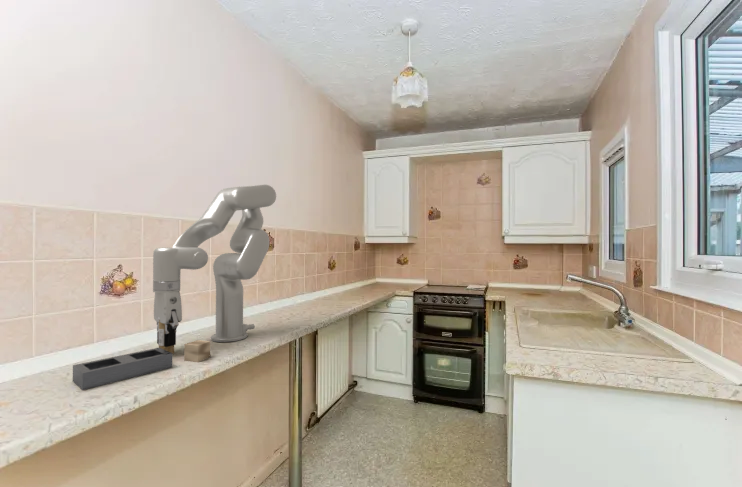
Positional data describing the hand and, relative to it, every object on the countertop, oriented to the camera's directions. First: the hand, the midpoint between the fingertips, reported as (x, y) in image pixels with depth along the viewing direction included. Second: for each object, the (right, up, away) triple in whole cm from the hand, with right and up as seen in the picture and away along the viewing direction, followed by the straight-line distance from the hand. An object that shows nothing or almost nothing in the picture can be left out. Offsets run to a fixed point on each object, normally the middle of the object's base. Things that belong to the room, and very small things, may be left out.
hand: (166, 343), depth 110 cm
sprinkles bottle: (0, -4, 0) cm, 4 cm away
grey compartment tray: (-1, -3, -17) cm, 17 cm away
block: (+12, -3, -4) cm, 13 cm away
